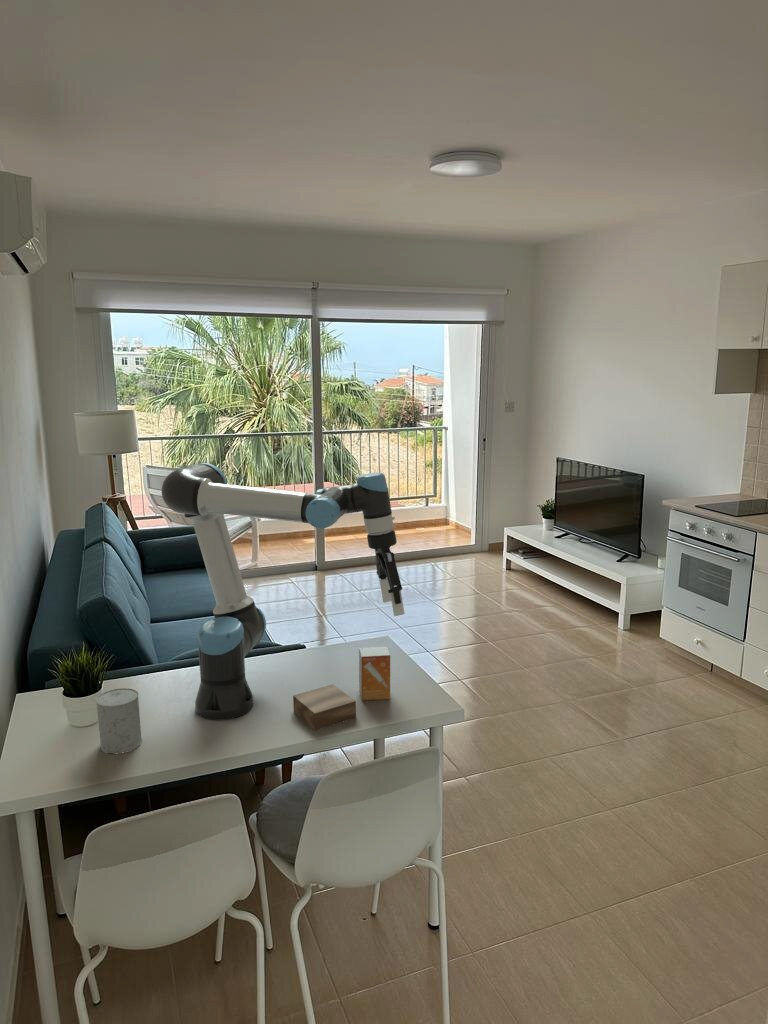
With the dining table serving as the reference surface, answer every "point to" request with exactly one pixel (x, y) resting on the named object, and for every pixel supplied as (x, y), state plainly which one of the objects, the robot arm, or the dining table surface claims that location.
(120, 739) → the grey marble cylinder
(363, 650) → the small box
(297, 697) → the walnut block
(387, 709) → the dining table surface
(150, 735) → the dining table surface
